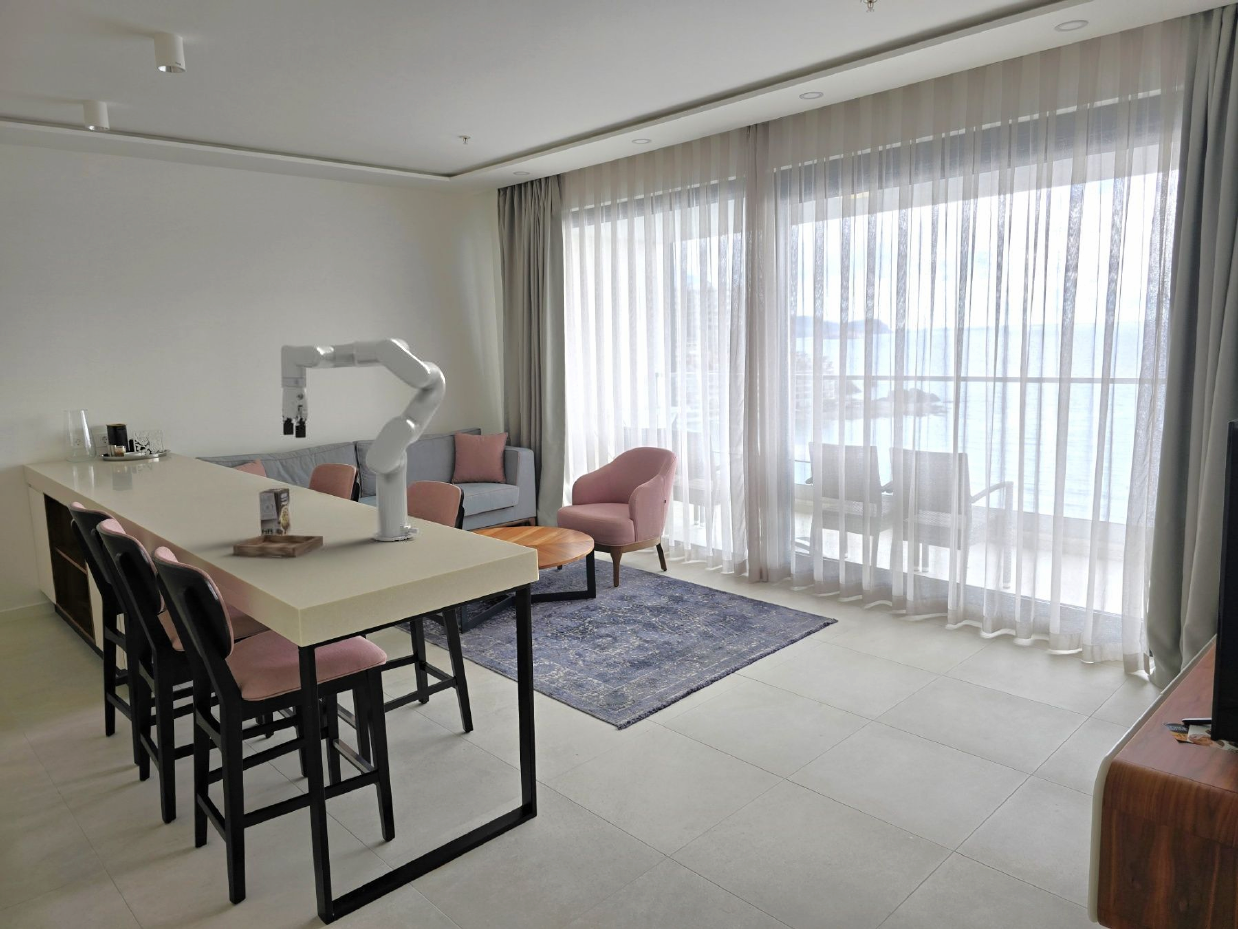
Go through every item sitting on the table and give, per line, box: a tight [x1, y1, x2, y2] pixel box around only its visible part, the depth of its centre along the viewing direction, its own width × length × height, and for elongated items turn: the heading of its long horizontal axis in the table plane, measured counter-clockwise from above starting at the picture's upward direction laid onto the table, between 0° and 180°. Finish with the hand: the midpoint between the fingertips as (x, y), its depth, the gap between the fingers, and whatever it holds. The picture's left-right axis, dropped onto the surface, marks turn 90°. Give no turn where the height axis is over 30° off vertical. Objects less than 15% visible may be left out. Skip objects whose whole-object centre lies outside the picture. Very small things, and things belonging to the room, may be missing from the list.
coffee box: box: [258, 487, 293, 536], centre depth 265 cm, size 9×6×16 cm
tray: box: [232, 534, 324, 558], centre depth 250 cm, size 20×16×3 cm
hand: (294, 436), depth 264 cm, fingers open, 9 cm apart
